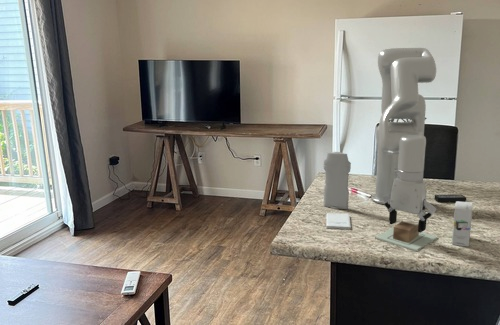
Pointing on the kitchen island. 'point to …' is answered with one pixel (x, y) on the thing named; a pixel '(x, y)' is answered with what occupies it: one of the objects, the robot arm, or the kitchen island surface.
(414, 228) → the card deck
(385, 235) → the mat
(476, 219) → the kitchen island surface
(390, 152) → the robot arm
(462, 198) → the multiport hub
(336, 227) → the external hard drive
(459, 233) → the ink box
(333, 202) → the tall pale column
